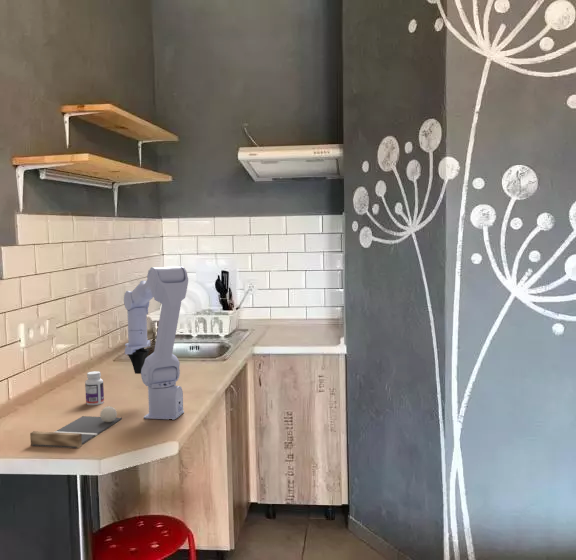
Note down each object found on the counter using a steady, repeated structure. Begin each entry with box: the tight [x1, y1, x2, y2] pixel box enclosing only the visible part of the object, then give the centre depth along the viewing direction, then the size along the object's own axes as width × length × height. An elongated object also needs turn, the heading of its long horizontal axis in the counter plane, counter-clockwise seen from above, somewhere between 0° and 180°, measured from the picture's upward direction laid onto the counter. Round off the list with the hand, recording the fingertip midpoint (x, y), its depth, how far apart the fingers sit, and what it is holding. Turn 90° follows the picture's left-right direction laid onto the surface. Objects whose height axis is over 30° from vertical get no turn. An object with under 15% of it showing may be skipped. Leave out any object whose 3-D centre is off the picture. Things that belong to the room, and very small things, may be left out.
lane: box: [33, 415, 123, 449], centre depth 172 cm, size 12×25×1 cm, turn 169°
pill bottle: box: [84, 370, 105, 406], centre depth 200 cm, size 5×5×10 cm
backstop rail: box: [29, 430, 83, 449], centre depth 160 cm, size 13×2×3 cm, turn 79°
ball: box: [99, 405, 118, 423], centre depth 178 cm, size 4×4×4 cm
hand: (138, 373), depth 199 cm, fingers closed
